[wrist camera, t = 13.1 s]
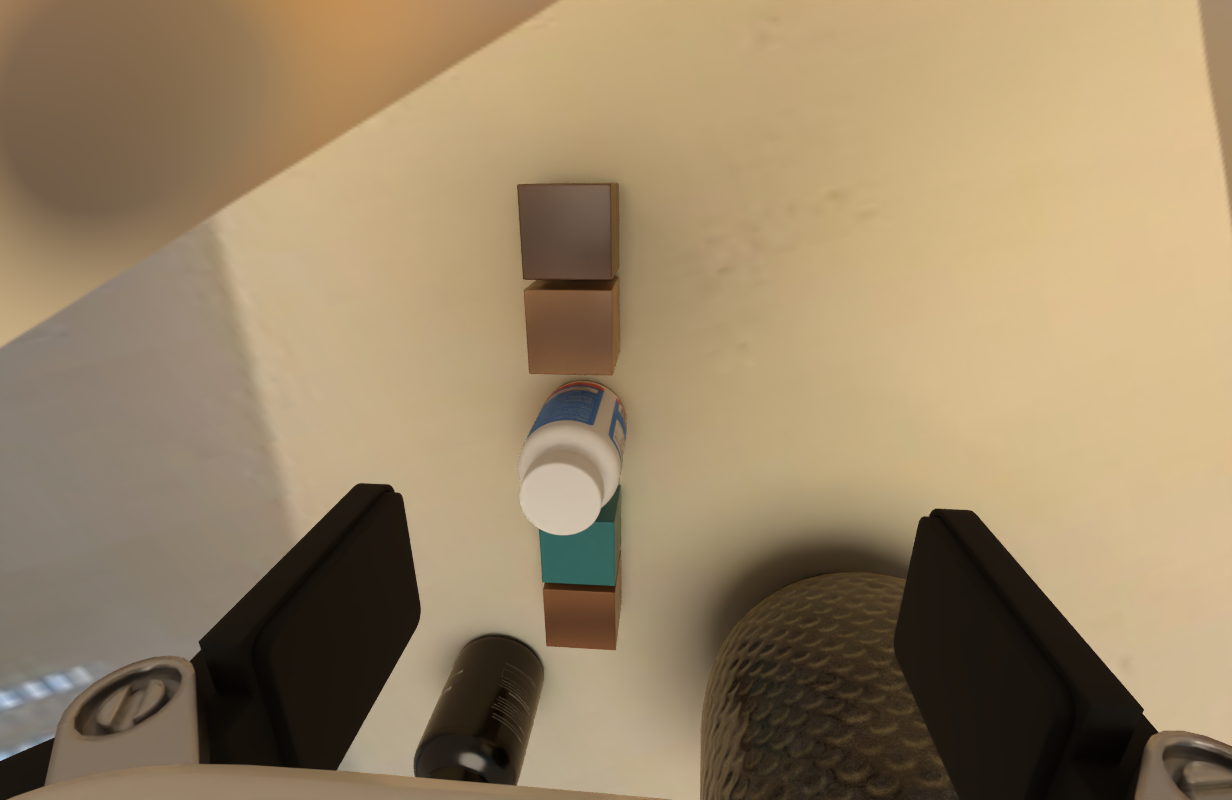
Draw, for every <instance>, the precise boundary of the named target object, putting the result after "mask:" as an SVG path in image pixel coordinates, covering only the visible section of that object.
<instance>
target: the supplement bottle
mask: <svg viewBox="0 0 1232 800" xmlns="http://www.w3.org/2000/svg"><path fill="white" fill-rule="evenodd" d="M542 685H543V671H542V667H541V665H540V663H539V661H538V659H537V658H536V656H535V655H534V654H533V653H532V652H531V651H530V650H529V649H528V648H527V647H525V646H524V645H522V644H520V643H518V642H516V641H514V640H511V639H508V638H503V637H486V638H482V639H478V640H476V641H474V642H472V643H470V644H469V645H467V646H466V647H465V648H464V649H463V650H462V651H461V653H460V654H459V656H458V658H457V660H456V662H455V664H454V666H453V669H452V671H451V673H450V675H449V677H448V680H447V682H446V684H445V686H444V689H443V691H442V693H441V695H440V698H439V700H438V702H437V704H436V707H435V709H434V711H433V713H432V716H431V718H430V720H429V722H428V725H427V727H426V729H425V731H424V734H423V736H422V738H421V740H420V743H419V745H418V748H417V750H416V753H415V757H414V774H415V777H420V778H431V779H443V780H455V781H467V782H479V783H491V784H502V785H514V786H517V783H518V779H519V776H520V773H521V769H522V765H523V761H524V757H525V753H526V749H527V745H528V741H529V737H530V734H531V730H532V726H533V722H534V718H535V714H536V710H537V706H538V702H539V698H540V694H541V690H542Z"/></svg>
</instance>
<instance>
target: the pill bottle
mask: <svg viewBox="0 0 1232 800" xmlns="http://www.w3.org/2000/svg"><path fill="white" fill-rule="evenodd" d="M626 430H627V418H626V414H625V410H624V408H623V405H622V403H621V402H620V400H619V399H618V398H617V396H616V395H615V394H614V393H613V392H612V391H610V390H609V389H608V388H606V387H604V386H602V385H600V384H598V383H595V382H590V381H575V382H571V383H567V384H565V385H563V386H561V387H559V388H558V389H556V390H555V391H554V392H553V393H552V394H551V395H550V396H549V397H548V399H547V400H546V402H545V403H544V405H543V407H542V409H541V411H540V413H539V415H538V417H537V419H536V421H535V423H534V425H533V427H532V429H531V431H530V433H529V435H528V437H527V439H526V441H525V443H524V445H523V447H522V450H521V452H520V455H519V459H518V475H519V480H520V483H521V487H520V491H519V500H520V505H521V508H522V511H523V513H524V514H525V516H526V517H527V519H528V520H529V521H530V522H531V523H532V524H533V525H534V526H536V527H537V528H539V529H541V530H543V531H545V532H547V533H550V534H555V535H572V534H576V533H579V532H581V531H583V530H585V529H587V528H588V527H589V526H591V525H592V524H593V523H594V521H595V520H596V519H597V517H598V515H599V513H600V510H601V507H603V506H604V505H605V504H606V503H607V502H608V501H609V500H610V499H611V497H612V496H613V495H614V493H615V491H616V489H617V487H618V483H619V479H620V474H621V467H622V460H623V453H624V446H625V438H626Z"/></svg>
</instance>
